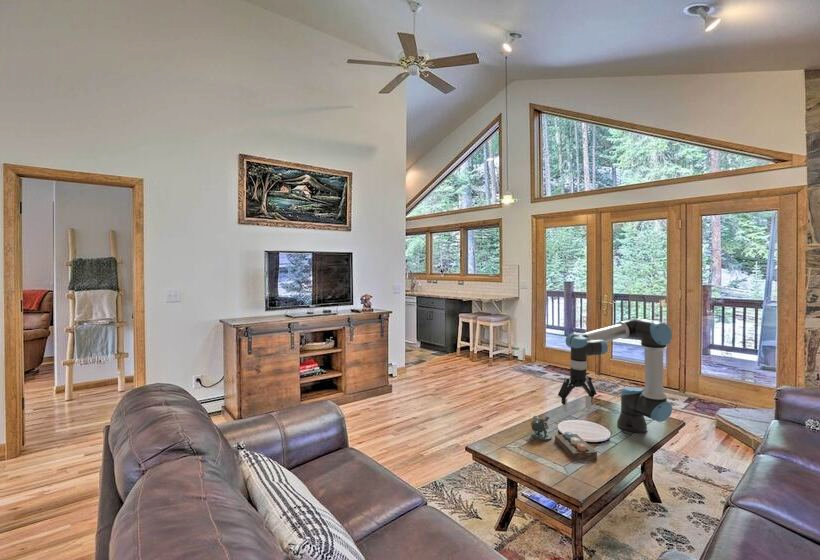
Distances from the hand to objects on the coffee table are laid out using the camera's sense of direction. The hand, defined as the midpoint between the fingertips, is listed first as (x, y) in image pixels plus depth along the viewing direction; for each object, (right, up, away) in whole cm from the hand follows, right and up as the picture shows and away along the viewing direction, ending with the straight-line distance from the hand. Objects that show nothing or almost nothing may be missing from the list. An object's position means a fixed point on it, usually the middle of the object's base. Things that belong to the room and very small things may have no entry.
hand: (576, 409), depth 202 cm
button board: (+1, -22, +5) cm, 23 cm away
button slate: (0, -19, +11) cm, 22 cm away
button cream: (+1, -20, +4) cm, 20 cm away
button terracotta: (+2, -20, -2) cm, 20 cm away
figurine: (-11, -21, +19) cm, 31 cm away
